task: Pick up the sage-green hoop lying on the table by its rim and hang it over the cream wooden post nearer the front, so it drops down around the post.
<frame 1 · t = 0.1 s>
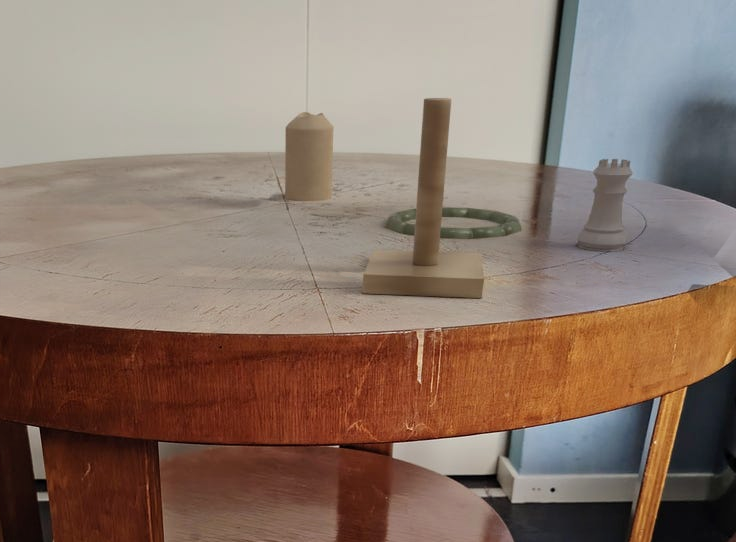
candle: (308, 205, 107), on the table
hoop: (452, 225, 90), point 1 cm above the table
rook chess piece: (598, 257, 81), on the table
post: (423, 282, 72), on the table
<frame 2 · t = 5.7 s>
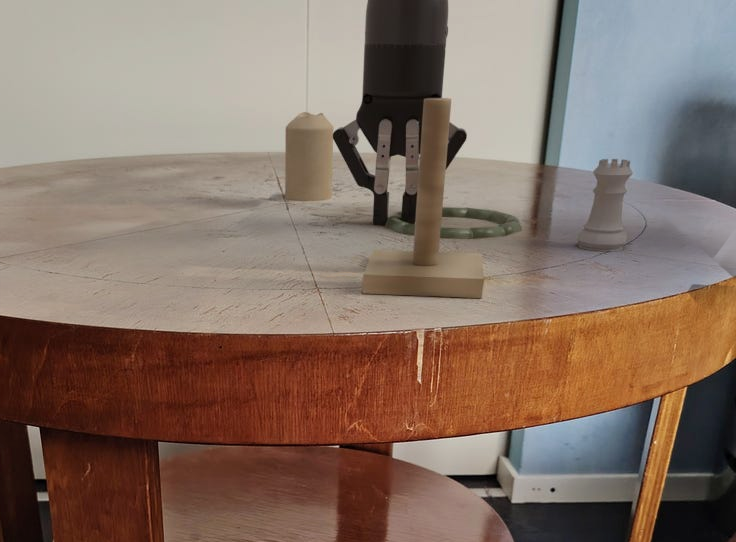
hand: (393, 231, 91), 0 cm above the table, tool pointing down, fingers closed on hoop, 1 cm apart
hoop: (452, 225, 90), point 1 cm above the table, touching gripper
everything else where it was.
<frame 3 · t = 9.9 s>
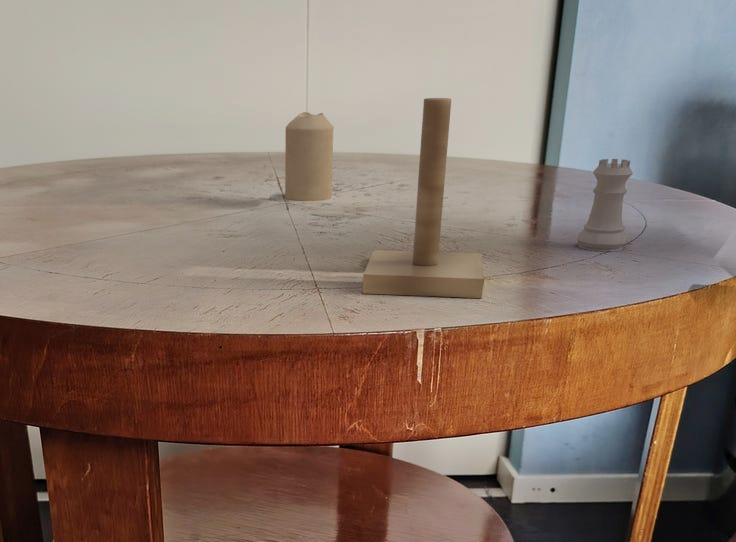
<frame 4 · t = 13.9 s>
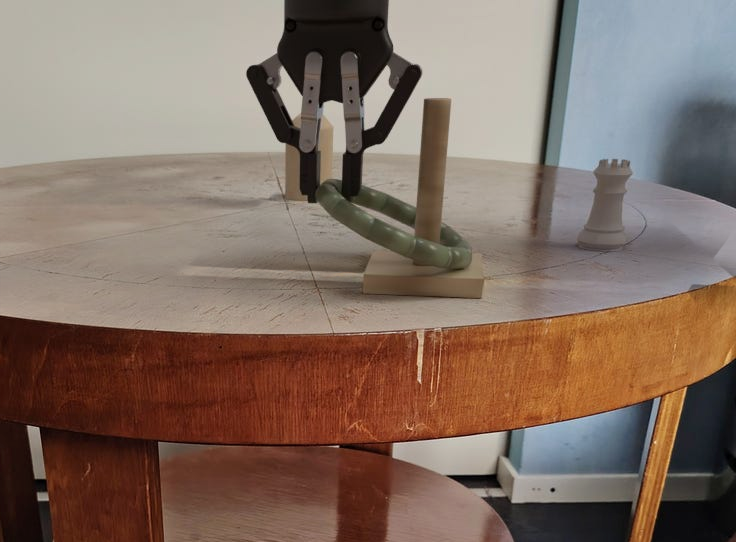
hand: (330, 201, 71), 6 cm above the table, tool pointing down, fingers closed
hoop: (394, 223, 71), point 5 cm above the table, tilted 23°, touching post
everything else where it was.
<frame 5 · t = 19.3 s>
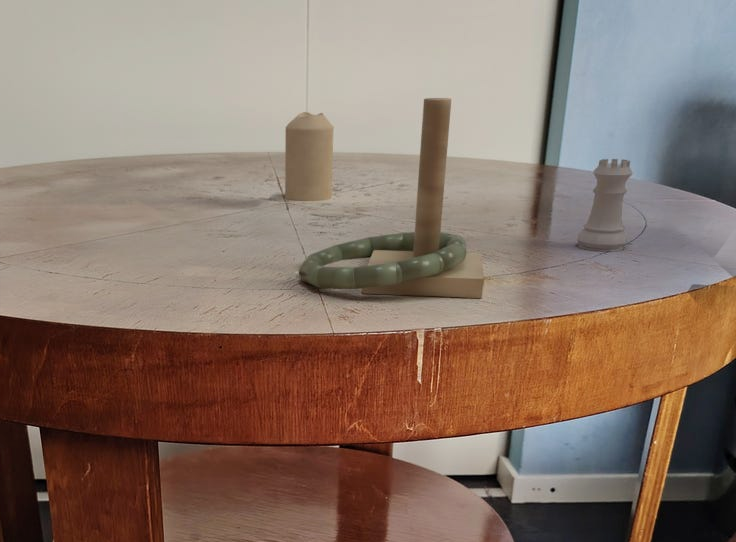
hoop: (382, 259, 72), point 2 cm above the table, tilted 9°, touching post
everything else where it was.
at the end: hoop 3.4 cm from the post (horizontally); hoop point 1.7 cm above the table; the gripper is holding nothing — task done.
